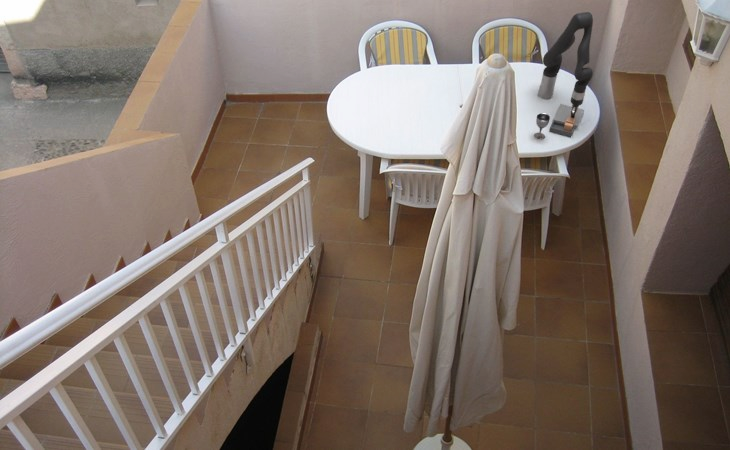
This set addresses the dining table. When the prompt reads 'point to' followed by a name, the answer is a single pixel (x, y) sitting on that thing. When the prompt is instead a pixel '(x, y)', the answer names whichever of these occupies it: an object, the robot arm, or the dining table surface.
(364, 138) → the dining table surface
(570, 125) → the tile front
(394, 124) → the dining table surface
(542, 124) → the wine glass
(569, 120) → the tile rear
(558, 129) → the tray
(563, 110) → the slate ledge
